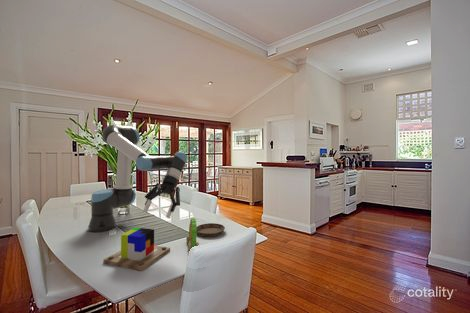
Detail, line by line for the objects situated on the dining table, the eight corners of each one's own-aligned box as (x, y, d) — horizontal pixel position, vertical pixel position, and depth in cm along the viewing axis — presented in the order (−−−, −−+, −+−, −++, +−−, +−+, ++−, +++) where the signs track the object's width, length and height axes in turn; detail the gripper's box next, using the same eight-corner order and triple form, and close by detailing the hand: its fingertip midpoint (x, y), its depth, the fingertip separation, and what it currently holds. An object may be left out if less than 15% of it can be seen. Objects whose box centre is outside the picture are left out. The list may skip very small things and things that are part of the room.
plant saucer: (199, 240, 127) (199, 234, 127) (192, 229, 143) (192, 225, 143) (229, 235, 134) (229, 230, 134) (219, 226, 150) (219, 221, 150)
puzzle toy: (141, 259, 99) (141, 237, 99) (121, 257, 102) (121, 234, 101) (154, 250, 109) (154, 229, 109) (135, 247, 111) (135, 227, 111)
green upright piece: (185, 241, 124) (186, 213, 124) (196, 240, 126) (196, 212, 125) (188, 254, 109) (188, 222, 109) (200, 252, 111) (200, 221, 110)
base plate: (103, 263, 99) (103, 258, 99) (136, 245, 118) (136, 241, 118) (141, 271, 93) (141, 266, 93) (170, 250, 112) (170, 246, 112)
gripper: (194, 184, 126) (180, 222, 116) (155, 177, 133) (139, 212, 123) (189, 178, 120) (174, 217, 110) (149, 171, 127) (131, 207, 117)
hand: (155, 214), depth 117 cm, fingers open, 13 cm apart
